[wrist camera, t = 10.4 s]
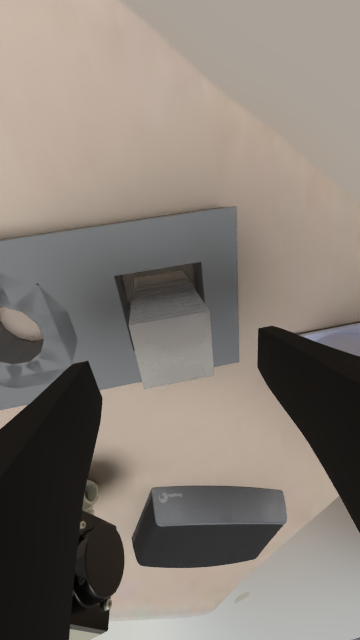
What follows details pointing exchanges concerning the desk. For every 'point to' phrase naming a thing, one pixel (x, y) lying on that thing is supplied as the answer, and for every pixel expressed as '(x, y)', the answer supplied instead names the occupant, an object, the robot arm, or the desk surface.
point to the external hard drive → (206, 525)
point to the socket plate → (108, 295)
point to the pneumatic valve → (94, 571)
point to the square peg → (170, 330)
